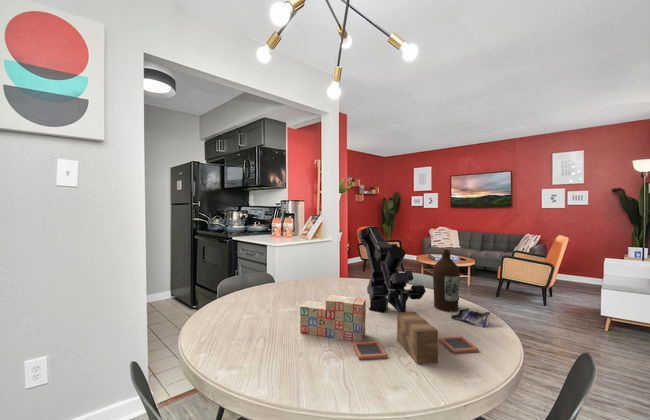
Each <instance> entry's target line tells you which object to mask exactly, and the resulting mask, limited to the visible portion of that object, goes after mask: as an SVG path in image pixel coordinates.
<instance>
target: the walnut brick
mask: <svg viewBox="0 0 650 420" xmlns="http://www.w3.org/2000/svg"><path fill="white" fill-rule="evenodd" d="M396 314H397V315H396V319H397V321H396V323H397V324H396V325H397V328H396V335H397V336H396V337H397V338H396V339H397V340H396V341H397V342H398V344H399V345H400V347H402V348H403V350H405V352H406V353H407V355H408V356H409V357H410V358H411V360H412V361H414V363H415V364H416V365H428V364H438V363H439V330H438V329H437V328H435V326H433V325H432V324H431V323H430V322H428V321H427V320H426V319H425V318H424V317H422V316H421V315H419V314H418V313H417V312H415V311H408V312H407V311H406V312H402V313H399V312H397V313H396Z"/></svg>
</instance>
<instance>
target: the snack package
mask: <svg viewBox="0 0 650 420" xmlns="http://www.w3.org/2000/svg"><path fill="white" fill-rule="evenodd" d="M490 315H491V313H490V312H489V311H485V312H480V311H474V310H470V307H466V308H462V309H460V310H459V311H458V313H457V314H451V316H450V317H451V319H454V320H458V321H463V322H468V323H470V324H471V325H472V324H473V325H474V323H473V322H475V323H476V324H477V325H475V326H479V327H482V328H486V327H487V325H488V324H489V323H490ZM466 319H467V320H466ZM471 321H472V322H471Z"/></svg>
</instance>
